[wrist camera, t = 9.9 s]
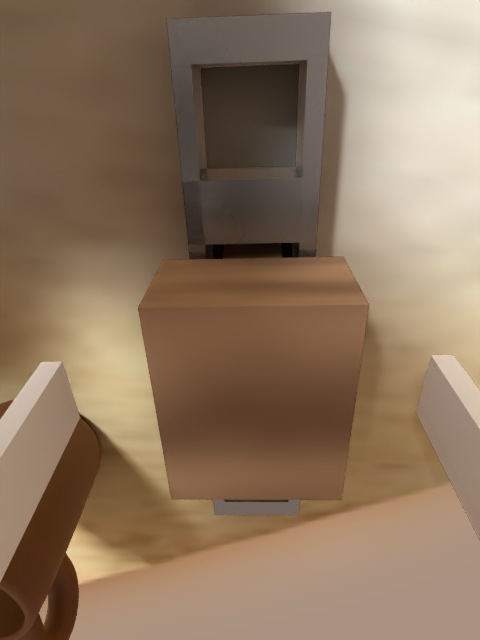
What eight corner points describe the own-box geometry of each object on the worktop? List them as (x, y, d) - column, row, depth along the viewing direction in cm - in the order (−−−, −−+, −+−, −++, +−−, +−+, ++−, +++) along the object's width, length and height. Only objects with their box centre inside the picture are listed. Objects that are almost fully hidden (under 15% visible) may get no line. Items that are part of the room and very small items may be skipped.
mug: (153, 510, 28) (112, 681, 20) (58, 528, 30) (-16, 694, 22) (67, 379, 23) (-37, 541, 15) (-46, 408, 24) (-197, 572, 16)
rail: (179, 29, 15) (166, 18, 12) (319, 23, 15) (331, 12, 12) (217, 478, 27) (214, 514, 24) (294, 478, 26) (298, 515, 24)
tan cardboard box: (175, 235, 19) (138, 307, 12) (330, 232, 18) (369, 304, 12) (192, 390, 23) (171, 499, 17) (317, 389, 23) (341, 500, 17)
